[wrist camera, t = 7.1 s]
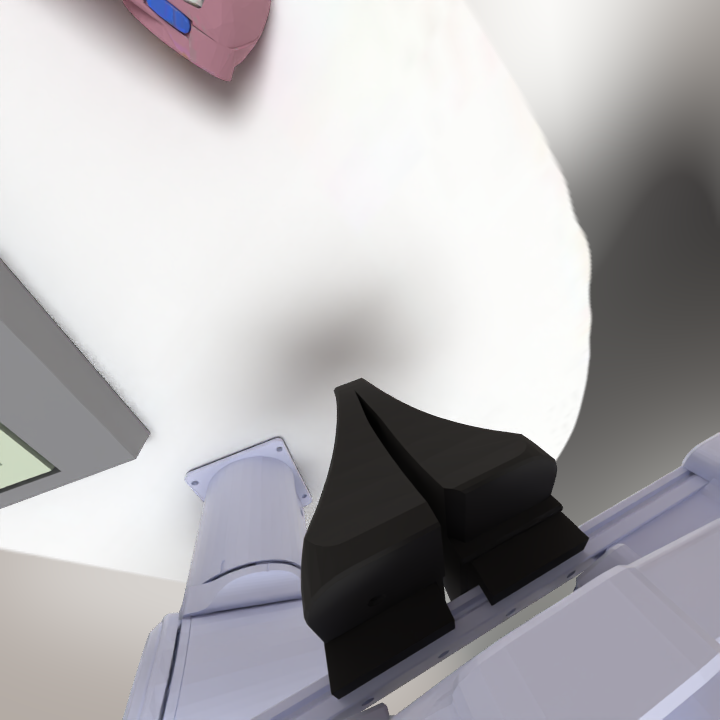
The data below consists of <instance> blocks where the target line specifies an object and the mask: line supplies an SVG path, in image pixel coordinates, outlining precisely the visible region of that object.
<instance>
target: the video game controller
mask: <svg viewBox="0 0 720 720" xmlns="http://www.w3.org/2000/svg"><path fill="white" fill-rule="evenodd" d="M123 3H124V5H125V6H126V8H127V9H128V10H129V11H130V12H131V13H132V14H133V15H134V16H135V18H136V19H137V20H139V21H140V22H141V23H142V24H143V25H144V26H145V27H146V28H147V29H149V30H150V31H151V32H152V33H153V34H154V35H155V36H157V37H158V38H159V39H160V40H161V41H163V42H164V43H165V44H166V45H168V46H169V47H170V48H172V49H173V50H175V51H176V52H177V53H179V54H180V55H181V56H183V57H184V58H186V59H187V60H189V61H190V62H192V63H194V64H195V65H197V66H198V67H200V68H201V69H203V70H205V71H206V72H208V73H210V74H211V75H213V76H215V77H217V78H219V79H222V80H224V81H231V80H232V76H233V71H234V67H235V66H237V65H238V64H240V63H241V62H242V61H243V60H244V59H245V57H246V56H247V55H248V54H249V53H250V51H251V50H252V49H253V48H254V46H255V44H256V43H257V41H258V40H259V38H260V36H261V34H262V32H263V29H264V27H265V24H266V21H267V18H268V14H269V10H270V5H271V0H123Z"/></svg>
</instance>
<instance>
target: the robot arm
mask: <svg viewBox="0 0 720 720" xmlns="http://www.w3.org/2000/svg"><path fill="white" fill-rule="evenodd" d="M334 393H335V396H336V401H337V426H336V437H335V444H334V450H333V455H332V459H331V464H330V468H329V472H328V475H327V479H326V482H325V485H324V488H323V491H322V494H321V497H320V500H319V503H318V505H317V508H316V511H315V513H314V515H313V518H312V520H311V522H310V525H309V527H308V530H307V529H306V523H305V516H304V509H303V507H304V506H306V505H308V504H310V503H311V502H312V497H311V495H310V493H309V491H308V489H307V487H306V485H305V483H304V481H303V479H302V477H301V475H300V473H299V471H298V469H297V467H296V465H295V463H294V461H293V460H292V458H291V456H290V454H289V452H288V450H287V448H286V446H285V444H284V442H283V440H282V439H281V438H275V439H273V440H270V441H268V442H265V443H262V444H260V445H257V446H255V447H252V448H250V449H247V450H244V451H242V452H239V453H237V454H234V455H232V456H229V457H227V458H224V459H221V460H219V461H216V462H214V463H211V464H209V465H206V466H204V467H201V468H198V469H196V470H193V471H191V472H189V473H187V474H186V476H185V482H186V483H187V484H188V485H189V486H190V487H191V488H192V489H193V491H194V492H195V493H196V494H197V495H198V496H199V497H200V499H201V500H202V501H203V502H204V506H203V511H202V515H201V520H200V525H199V529H198V534H197V539H196V543H195V548H194V552H193V557H192V562H191V566H190V571H189V576H188V580H187V585H186V589H185V594H184V599H183V603H182V606H181V609H180V611H179V614H178V613H169V614H167V615H165V617H164V618H163V620H162V622H161V623H159V624H158V625H157V626H156V627H155V628H154V629H153V630H152V631H151V632H150V633H149V636H148V638H147V641H146V644H145V647H144V650H143V653H142V656H141V660H140V663H139V666H138V670H137V673H136V676H135V680H134V683H133V686H132V689H131V692H130V696H129V699H128V703H127V706H126V710H125V713H124V716H123V720H720V432H719V433H717V434H715V435H714V436H712V437H710V438H708V439H707V440H705V441H703V442H702V443H700V444H698V445H697V446H695V447H694V448H693V449H692V450H691V451H690V452H689V453H688V454H687V456H686V457H685V458H684V460H683V462H682V466H680V467H679V468H677V469H675V470H674V471H672V472H670V473H669V474H667V475H665V476H663V477H662V478H660V479H658V480H657V481H655V482H653V483H652V484H650V485H648V486H646V487H645V488H643V489H641V490H640V491H638V492H636V493H634V494H633V495H631V496H629V497H628V498H626V499H624V500H623V501H621V502H619V503H618V504H616V505H614V506H612V507H611V508H609V509H607V510H606V511H604V512H602V513H601V514H599V515H597V516H595V517H594V518H592V519H590V520H589V521H587V522H585V523H584V524H582V525H580V526H578V527H577V526H576V525H575V524H574V523H573V522H572V521H571V520H570V519H569V518H567V517H566V516H565V515H564V514H563V513H562V512H561V511H562V509H563V507H562V505H561V504H560V503H559V502H558V501H557V500H556V499H555V498H554V497H553V496H552V495H551V492H552V488H553V485H554V482H555V478H556V473H557V465H556V462H555V459H554V458H552V457H551V456H550V455H548V454H547V453H546V452H545V451H544V450H542V449H541V448H540V447H539V446H537V445H536V444H535V443H534V442H532V441H531V440H529V439H528V438H526V437H525V436H523V435H522V434H516V433H509V432H502V431H495V430H489V429H484V428H479V427H474V426H469V425H465V424H461V423H457V422H453V421H450V420H446V419H443V418H440V417H437V416H434V415H431V414H428V413H426V412H423V411H420V410H418V409H416V408H413V407H411V406H409V405H407V404H405V403H403V402H401V401H399V400H397V399H395V398H394V397H392V396H390V395H388V394H386V393H385V392H383V391H381V390H380V389H378V388H377V387H375V386H374V385H372V384H371V383H369V382H368V381H366V380H365V379H363V378H360V379H357V380H355V381H352V382H349V383H347V384H344V385H341V386H339V387H336V388H335V390H334ZM278 447H281V448H278ZM583 571H584V572H583ZM581 572H582V573H581ZM580 573H581V574H580ZM578 574H580V575H579V576H578V577H577V578H576V587H575V589H574V591H573V593H571V594H569V595H568V596H566V597H565V598H563V599H562V600H560V601H559V602H557V603H556V604H554V605H552V606H550V607H549V608H547V609H545V610H544V611H542V612H540V613H539V614H537V615H536V616H534V617H532V618H531V619H530V620H528V621H526V622H525V623H523V624H522V625H520V626H518V627H517V628H515V629H514V630H512V631H511V632H509V633H508V634H506V635H505V636H503V637H502V638H500V639H499V640H497V641H496V642H495V643H493V644H492V645H490V646H489V647H487V648H486V649H484V650H483V651H481V652H480V653H479V654H477V655H476V656H474V657H473V658H472V659H470V660H469V661H468V662H466V663H465V664H463V665H462V666H461V667H459V668H458V669H457V670H455V671H454V672H453V673H451V674H450V675H449V676H447V677H446V678H444V679H443V680H442V681H440V682H439V683H438V684H436V685H435V686H434V687H432V688H431V689H430V690H429V691H427V692H426V693H424V694H423V695H422V696H420V697H419V698H418V699H416V700H415V701H414V702H412V703H411V704H410V705H409V706H407V707H406V708H405V709H403V710H402V711H401V712H399V713H398V714H397V715H392V716H391V715H389V712H388V708H387V706H386V705H385V704H384V703H380V704H378V705H376V706H374V707H371V708H369V709H367V710H365V709H366V708H368V707H369V706H371V705H372V704H374V703H376V702H377V701H379V700H380V699H382V698H384V697H385V696H387V695H388V694H390V693H391V692H393V691H395V690H396V689H398V688H399V687H401V686H403V685H404V684H406V683H407V682H409V681H410V680H412V679H414V678H415V677H417V676H418V675H420V674H422V673H423V672H425V671H426V670H428V669H429V668H431V667H433V666H434V665H436V664H437V663H439V662H441V661H442V660H444V659H445V658H447V657H448V656H450V655H451V654H453V653H454V652H456V651H458V650H460V649H461V648H463V647H464V646H466V645H467V644H469V643H471V642H472V641H474V640H475V639H477V638H479V637H480V636H482V635H483V634H485V633H486V632H488V631H490V630H491V629H493V628H494V627H496V626H497V625H499V624H501V623H502V622H504V621H505V620H507V619H509V618H510V617H512V616H513V615H515V614H517V613H518V612H519V611H521V610H523V609H524V608H526V607H528V606H529V605H531V604H532V603H534V602H536V601H537V600H539V599H540V598H542V597H543V596H545V595H547V594H548V593H550V592H551V591H553V590H555V589H556V588H558V587H559V586H561V585H562V584H564V583H565V582H567V581H569V580H570V579H572V578H573V577H575V576H577V575H578ZM444 587H445V589H446V591H447V594H448V596H449V598H450V600H451V602H449V603H446V601H445V592H444ZM363 710H364V711H363ZM361 711H362V712H361Z"/></svg>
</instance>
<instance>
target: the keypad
mask: <svg viewBox="0 0 720 720" xmlns="http://www.w3.org/2000/svg"><path fill="white" fill-rule="evenodd" d="M0 422H1V423H2V424H3V425H5V426H6V427H7V428H8V429H10V430H11V431H12V432H13V433H15V434H16V435H17V436H18V437H20V438H21V439H22V440H23V441H24V442H26V443H27V444H28V445H29V446H31V447H32V448H33V449H34V450H36V451H37V452H38V453H39V454H41V455H42V456H43V457H44V458H45V459H47V460H48V461H49V462H50V463H52V464H53V465H54V466H55V467H54V468H53V470H51V471H49V472H46V473H43V474H40V475H37V476H35V477H32V478H29V479H26V480H23V481H21V482H18V483H15V484H12V485H9V486H6V487H4V488H1V489H0V509H1V508H4V507H7V506H9V505H12V504H15V503H18V502H20V501H23V500H26V499H28V498H31V497H34V496H37V495H39V494H42V493H45V492H47V491H50V490H53V489H56V488H58V487H61V486H64V485H66V484H69V483H72V482H75V481H77V480H80V479H83V478H85V477H88V476H91V475H94V474H96V473H99V472H102V471H104V470H107V469H110V468H113V467H115V466H118V465H121V464H124V463H126V462H129V461H132V460H134V459H136V458H137V456H138V454H139V452H140V451H141V449H142V447H143V445H144V443H145V442H146V440H147V438H148V436H149V435H150V432H149V431H148V430H147V429H146V428H145V426H144V425H143V424H142V423H141V422H140V421H139V419H138V418H137V417H136V416H135V415H134V414H133V413H132V411H131V410H130V409H129V408H128V407H127V406H126V404H125V403H124V402H123V401H122V400H121V399H120V397H119V396H118V395H117V394H116V393H115V392H114V390H113V389H112V388H111V387H110V386H109V385H108V383H107V382H106V381H105V380H104V379H103V378H102V376H101V375H100V374H99V373H98V372H97V371H96V370H95V368H94V367H93V366H92V365H91V364H90V363H89V361H88V360H87V359H86V358H85V357H84V356H83V354H82V353H81V352H80V351H79V350H78V349H77V347H76V346H75V345H74V344H73V343H72V342H71V340H70V339H69V338H68V337H67V336H66V335H65V334H64V332H63V331H62V330H61V329H60V328H59V327H58V325H57V324H56V323H55V322H54V321H53V320H52V318H51V317H50V316H49V315H48V314H47V313H46V311H45V310H44V309H43V308H42V307H41V306H40V304H39V303H38V302H37V301H36V300H35V299H34V298H33V296H32V295H31V294H30V293H29V292H28V291H27V289H26V288H25V287H24V286H23V285H22V284H21V282H20V281H19V280H18V279H17V278H16V277H15V275H14V274H13V273H12V272H11V271H10V270H9V268H8V267H7V266H6V265H5V264H4V263H3V262H2V260H1V259H0Z"/></svg>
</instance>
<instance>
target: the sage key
mask: <svg viewBox="0 0 720 720" xmlns="http://www.w3.org/2000/svg"><path fill="white" fill-rule="evenodd" d="M54 467H55V466H54V465H53V464H52V463H50V462H49V461H48V460H47V459H45V458H44V457H43V456H42V455H41V454H39V453H38V452H37V451H36V450H34V449H33V448H32V447H31V446H29V445H28V444H27V443H26V442H24V441H23V440H22V439H21V438H20V437H18V436H17V435H16V434H15V433H13V432H12V431H11V430H10V429H8V428H7V427H6V426H5V425H3V424H2V423H1V422H0V489H1V488H4V487H6V486H9V485H12V484H15V483H18V482H21V481H23V480H26V479H29V478H32V477H35V476H37V475H40V474H43V473H46V472H49V471H51V470H53V468H54Z"/></svg>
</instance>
